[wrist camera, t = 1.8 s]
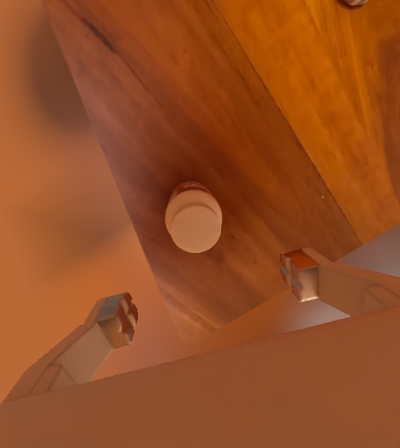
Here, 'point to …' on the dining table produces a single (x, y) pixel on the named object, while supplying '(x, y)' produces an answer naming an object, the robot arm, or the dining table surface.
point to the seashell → (356, 2)
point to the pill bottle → (193, 217)
